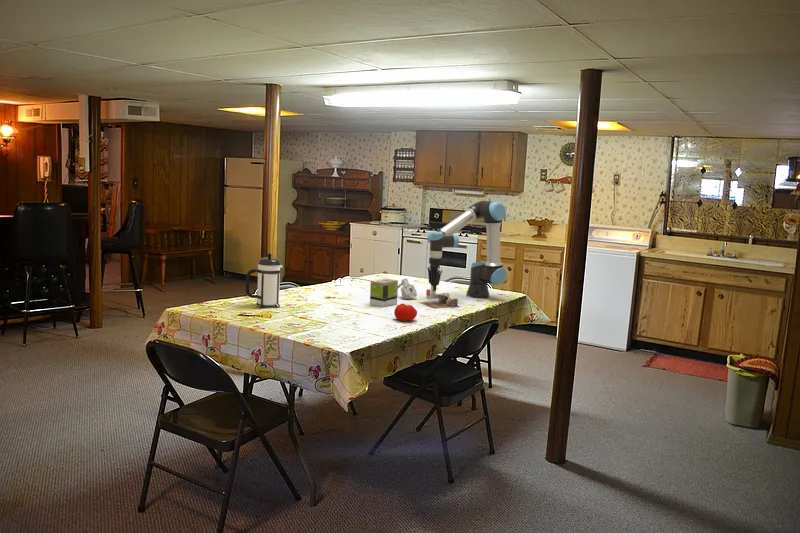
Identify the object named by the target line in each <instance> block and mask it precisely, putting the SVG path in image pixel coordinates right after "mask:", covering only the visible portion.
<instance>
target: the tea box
mask: <svg viewBox="0 0 800 533" xmlns="http://www.w3.org/2000/svg"><path fill="white" fill-rule="evenodd" d="M369 285H370V286H369V287H370V288H369V289H370V291H369V305H370V306H375V307H379V308H383V307H389V306H392V305H398V291H399V288H398V285H399V281H398V280H397V279H391V278H380V279H375V280H371V281H370V284H369Z"/></svg>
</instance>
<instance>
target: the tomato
mask: <svg viewBox="0 0 800 533" xmlns="http://www.w3.org/2000/svg"><path fill="white" fill-rule="evenodd" d="M396 305H397V306H396V307H395V309H394V311H393V313H394V314H393V315H394V317H395V318H396V319H397V320H399V321H400V322H412V320H415V319H416V317H417V315H418V311H417V309H416V308H415V307H414V306H413V305H411V304H405V303H400V304H396Z"/></svg>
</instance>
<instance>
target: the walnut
mask: <svg viewBox="0 0 800 533" xmlns="http://www.w3.org/2000/svg"><path fill="white" fill-rule="evenodd" d="M446 304H447V305H448V306H450V305H451V298H448V300H446Z"/></svg>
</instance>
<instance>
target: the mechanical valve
mask: <svg viewBox="0 0 800 533" xmlns="http://www.w3.org/2000/svg"><path fill="white" fill-rule="evenodd" d="M399 288H400V292H401V296H402V298H404V299H405V300H411V301H412V300H414V299H415V298H416V297H417V296H418V293H417V289H416V288H415V285H414V284H410V282H409V280H408V278H403V279H401V282H400V283H398V289H399Z"/></svg>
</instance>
